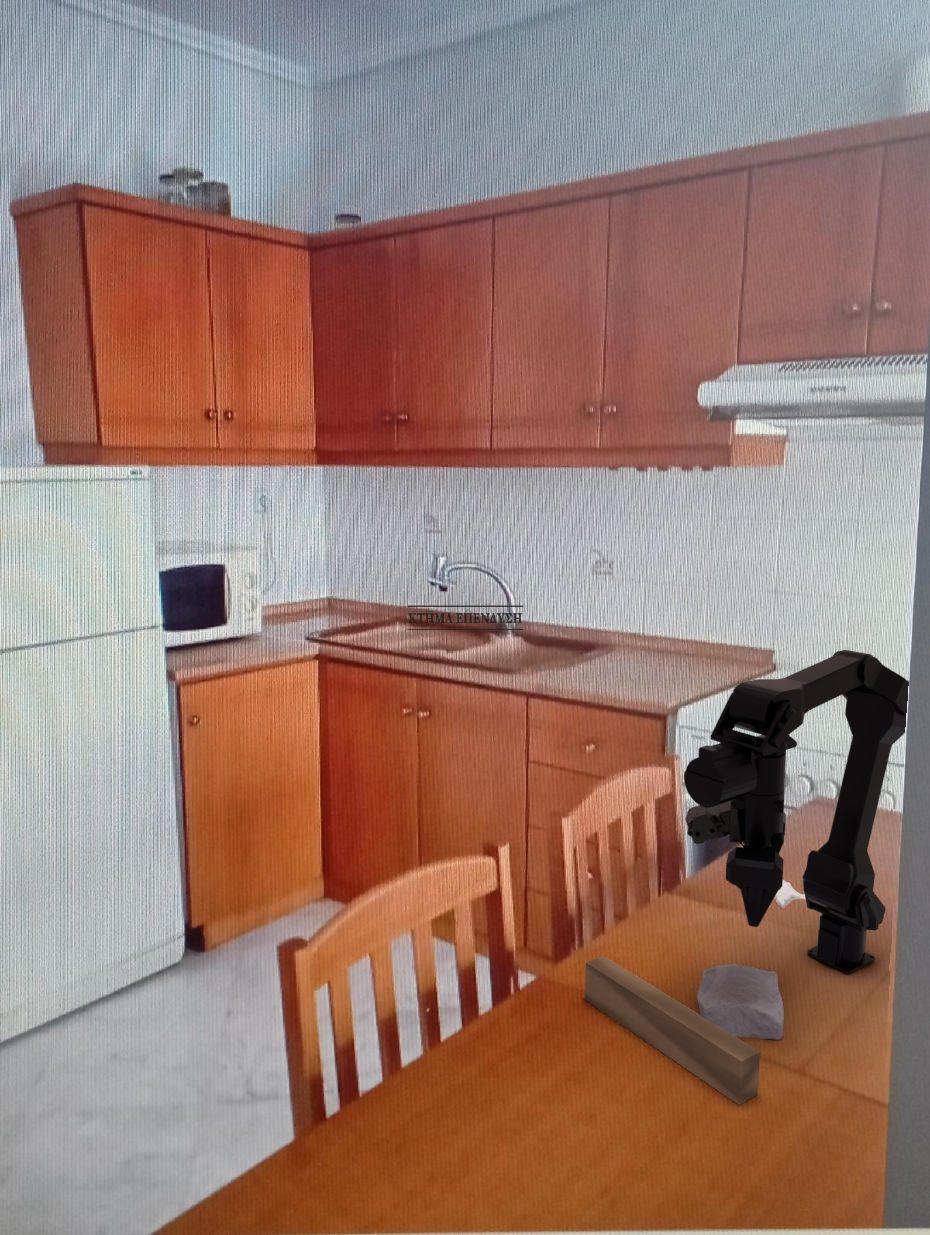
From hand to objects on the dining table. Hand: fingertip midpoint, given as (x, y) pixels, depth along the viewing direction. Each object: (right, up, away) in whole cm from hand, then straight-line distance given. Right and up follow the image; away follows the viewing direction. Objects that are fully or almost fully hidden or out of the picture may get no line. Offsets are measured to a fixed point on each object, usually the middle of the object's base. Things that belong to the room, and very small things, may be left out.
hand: (755, 908), depth 116 cm
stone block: (-2, -13, 0) cm, 13 cm away
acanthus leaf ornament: (+14, -9, +32) cm, 36 cm away
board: (-13, -14, -7) cm, 20 cm away
